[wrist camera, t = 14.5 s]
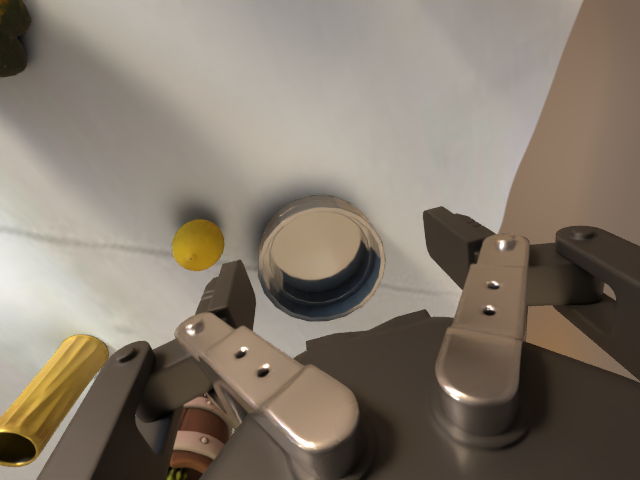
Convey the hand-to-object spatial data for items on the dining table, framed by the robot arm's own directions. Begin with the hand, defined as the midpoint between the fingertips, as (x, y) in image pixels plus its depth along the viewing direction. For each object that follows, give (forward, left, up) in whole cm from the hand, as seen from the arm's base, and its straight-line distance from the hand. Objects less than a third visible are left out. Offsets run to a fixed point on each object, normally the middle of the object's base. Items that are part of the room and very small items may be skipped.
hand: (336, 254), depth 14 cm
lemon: (+6, -14, -28) cm, 32 cm away
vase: (+18, -36, -28) cm, 49 cm away
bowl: (+12, -1, -28) cm, 30 cm away
